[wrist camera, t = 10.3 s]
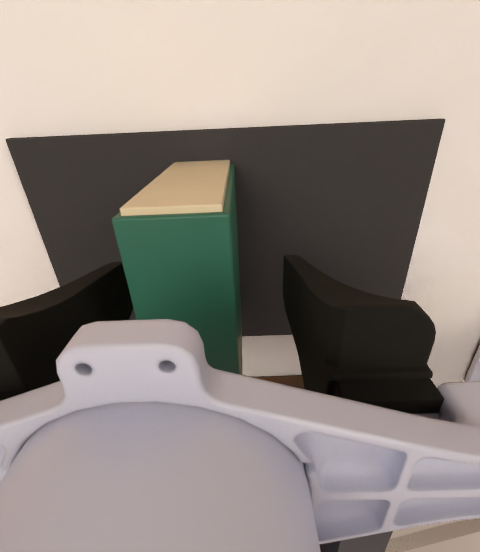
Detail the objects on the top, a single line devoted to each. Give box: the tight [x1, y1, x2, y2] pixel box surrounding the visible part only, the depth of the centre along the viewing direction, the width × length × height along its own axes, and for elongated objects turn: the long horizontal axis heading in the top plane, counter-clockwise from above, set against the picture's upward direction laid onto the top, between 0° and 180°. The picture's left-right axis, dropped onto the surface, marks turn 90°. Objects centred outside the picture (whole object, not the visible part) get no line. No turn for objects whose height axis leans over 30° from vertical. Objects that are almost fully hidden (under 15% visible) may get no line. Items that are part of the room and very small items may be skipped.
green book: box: [112, 160, 242, 375], centre depth 13 cm, size 3×9×8 cm, turn 3°
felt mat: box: [6, 119, 445, 336], centre depth 17 cm, size 20×12×1 cm, turn 92°
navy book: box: [321, 531, 393, 552], centre depth 21 cm, size 3×8×7 cm, turn 2°
